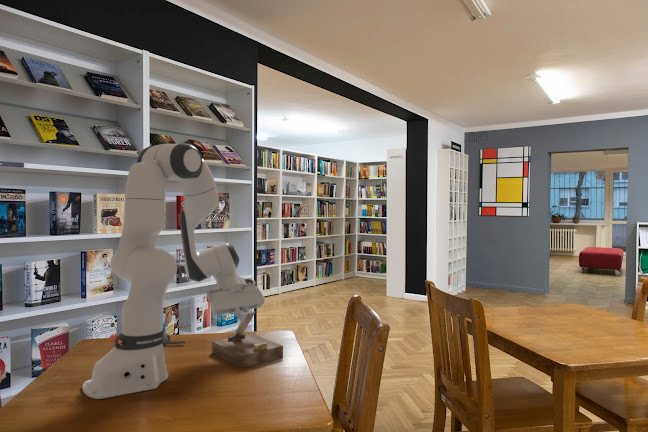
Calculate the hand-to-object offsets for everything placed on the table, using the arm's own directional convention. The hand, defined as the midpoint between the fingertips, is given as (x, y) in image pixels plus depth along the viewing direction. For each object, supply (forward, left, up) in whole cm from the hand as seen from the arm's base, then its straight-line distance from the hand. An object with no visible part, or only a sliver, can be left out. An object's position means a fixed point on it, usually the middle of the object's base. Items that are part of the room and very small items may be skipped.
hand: (245, 319), depth 151 cm
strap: (0, +1, -3) cm, 3 cm away
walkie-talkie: (-18, +32, -13) cm, 38 cm away
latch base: (0, -1, -12) cm, 12 cm away
